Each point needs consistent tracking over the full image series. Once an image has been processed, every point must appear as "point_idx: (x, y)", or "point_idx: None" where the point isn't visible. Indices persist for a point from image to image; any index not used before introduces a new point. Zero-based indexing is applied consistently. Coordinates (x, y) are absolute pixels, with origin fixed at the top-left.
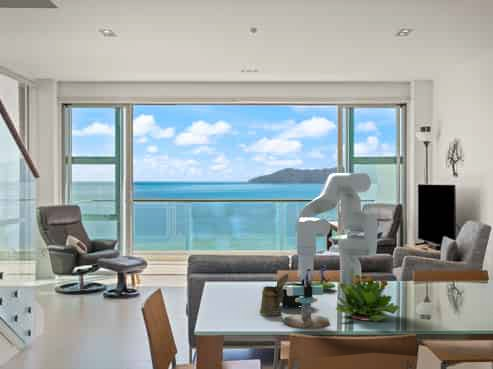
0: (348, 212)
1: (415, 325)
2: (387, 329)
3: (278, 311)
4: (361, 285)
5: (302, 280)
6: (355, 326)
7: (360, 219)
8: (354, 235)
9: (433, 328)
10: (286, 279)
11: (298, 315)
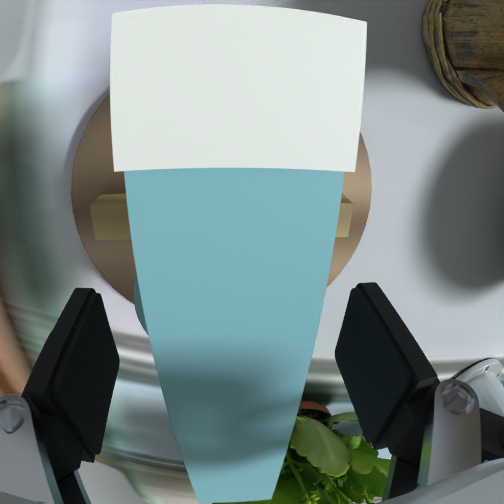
0: None
1: (182, 479)
2: (125, 441)
3: (448, 74)
4: None
5: (424, 442)
6: (150, 391)
7: None
8: None
9: (156, 488)
10: None
11: (352, 178)
